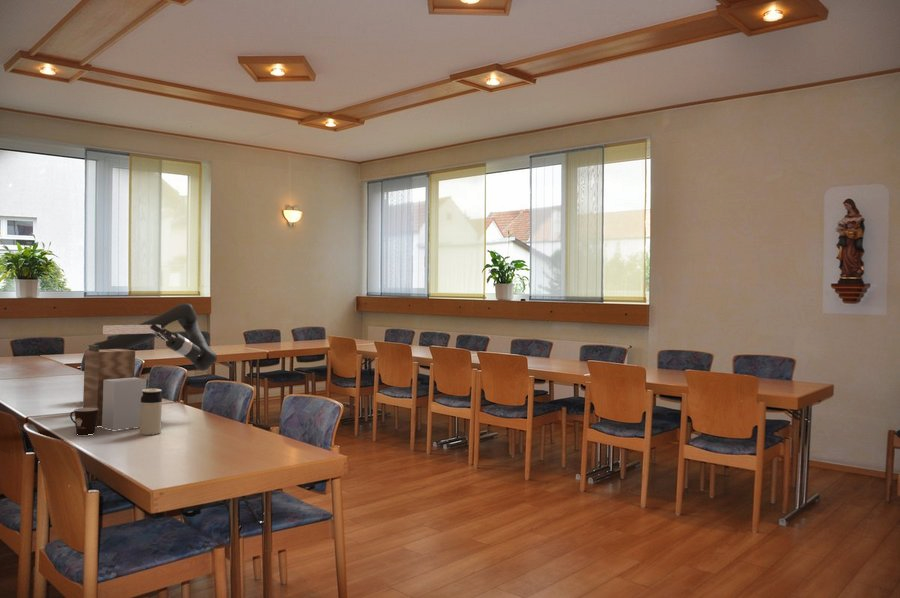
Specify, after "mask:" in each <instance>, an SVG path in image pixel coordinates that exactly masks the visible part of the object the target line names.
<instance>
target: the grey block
mask: <svg viewBox="0 0 900 598" xmlns="http://www.w3.org/2000/svg"><path fill="white" fill-rule="evenodd" d="M147 381H148V380H147V379H145V378H140V377H137V376H136V377H135V376H134V378H121V379H108V380H104V382H103V410H102V427H103V428H107V429H111V430H118V429H126V428H134V427H140V410H141V397H142V395H143V392H142V390H144V389H147ZM102 427H101V428H102ZM134 429H135V428H134ZM126 430H127V429H126Z"/></svg>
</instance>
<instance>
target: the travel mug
mask: <svg viewBox="0 0 900 598" xmlns="http://www.w3.org/2000/svg"><path fill="white" fill-rule="evenodd" d="M142 392H143V395H142V397H141V410H140V428H139V434H140V435H142V434H146V435H145V436H151V435H150V434H156V435H159V434H160V433H162V410H163V409H162V407H163V406H162V405H163V404H162V403H163V397H162V395H161V393H162V389H160V388H146V389H144V390H142ZM158 433H159V434H158Z"/></svg>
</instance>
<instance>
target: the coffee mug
mask: <svg viewBox="0 0 900 598" xmlns="http://www.w3.org/2000/svg"><path fill="white" fill-rule="evenodd" d="M73 414H74V419H75V420H74V419H73V417H72V416H73ZM69 415H70V417H69V418H70V420H71V421H72V423H73V424H74V425H75V434H76V435H77V434H78V435H88V434H93V433H94V434H95V433H96V428H95V427H96V421H97V415H98V408H83V407H80V408H76V409H74V410H73V411H71V412H70V413H69ZM94 434H93V435H94ZM78 435H77V436H78Z"/></svg>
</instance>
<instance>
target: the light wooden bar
mask: <svg viewBox="0 0 900 598" xmlns="http://www.w3.org/2000/svg"><path fill="white" fill-rule="evenodd" d="M151 326H152V325H138V324H128V325H127V324H125V325H123V324H121V325H116V324H115V325H113V324H111V325H102V335H120V334H145V333H158V332H156V331H154V330H153V329H151ZM156 326H158V327H160V328H161V325H156Z"/></svg>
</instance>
